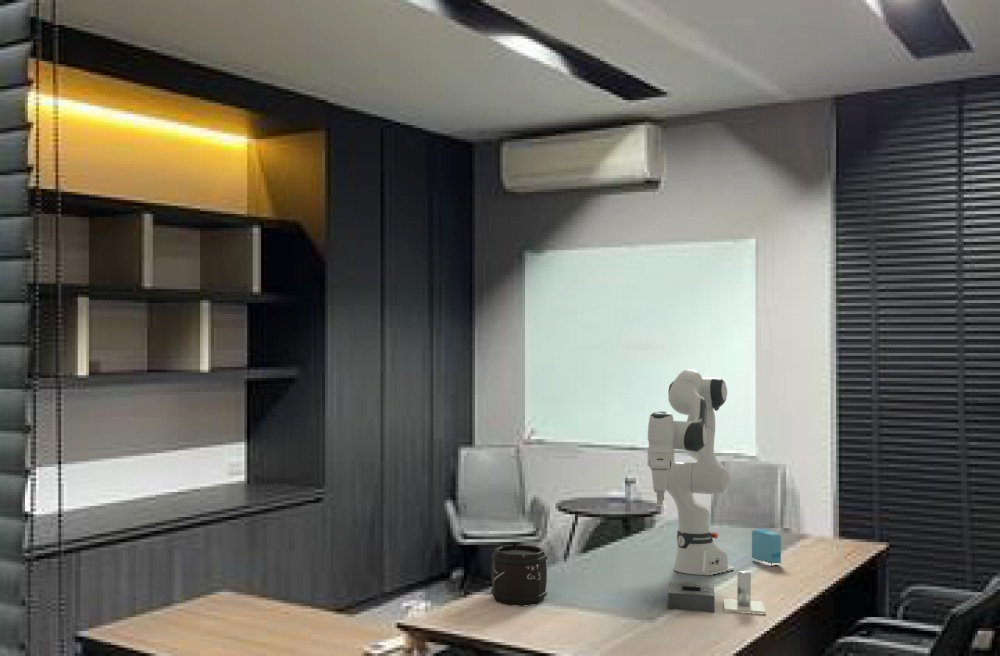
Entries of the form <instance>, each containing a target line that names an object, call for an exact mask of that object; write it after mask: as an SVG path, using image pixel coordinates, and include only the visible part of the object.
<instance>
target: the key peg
mask: <svg viewBox="0 0 1000 656" xmlns="http://www.w3.org/2000/svg"><path fill="white" fill-rule="evenodd" d="M751 577H752V572H750V571H745V570H742V571H741V570H739V571H737V582H736V583H737V586H736V587H737V593H736V594H737V595H736V597H737V599H736V600H737V605H738V606H742V607H749V606H750V605H751V601H752V599H751V594H752V593H751V590H752V589H751V588H752V587H751V586H752V585H751V582H752V578H751Z"/></svg>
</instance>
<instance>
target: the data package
mask: <svg viewBox="0 0 1000 656" xmlns="http://www.w3.org/2000/svg"><path fill="white" fill-rule="evenodd" d="M781 549H782V537H781V535H780V533H777V532H774V531H771V530H768V529H763V528H762V529H760V528H759V529H753V530H752V532H751V559H752V558H754V559H757V560H761V561H765V562H768V563H771V564H772V563H782V562H781V561H782V560H781V559H782V557H781V555H782V554H781V553H782V550H781Z"/></svg>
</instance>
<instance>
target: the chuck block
mask: <svg viewBox="0 0 1000 656" xmlns="http://www.w3.org/2000/svg"><path fill="white" fill-rule="evenodd" d="M667 590H668V591H667V610H674V609H677V610H676V611H689V612H690V611H691V612H703V611H705V613H715V610H716V609H715V603H716V601H715V597H716V596H715V595H716V594H715V584H708V583H706V584H705V583H690V582H674V581H669V582H668V589H667Z"/></svg>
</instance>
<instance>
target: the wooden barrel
mask: <svg viewBox="0 0 1000 656" xmlns="http://www.w3.org/2000/svg"><path fill="white" fill-rule="evenodd" d="M491 558H492V561H491V562H492V563H491V570H490V573H491V589H490V592H491V594H492V596H493V599H494V600H495V602H496V603H498V604H502V605H506V606H513V605H519V606H518V607H525V606H524V605H528V606H532V605H531V604H536V605H538V603H539V602H540V603H542V602H543V601H544V600H545V597H547V594H548V592H547V591H546V589H547V581H548V580H547V578H548V575H547V574H548V573H547V572H548V570H547V560H548V556H547V554H546V553H545V551H544V550H543V549H542V547H540V546H535V545H528V544H516V545H515V546H514V544H509V545H503V546H499V547H495V548H494V551H493V552H492V553H491ZM541 601H542V602H541ZM540 603H539V604H540Z"/></svg>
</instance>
